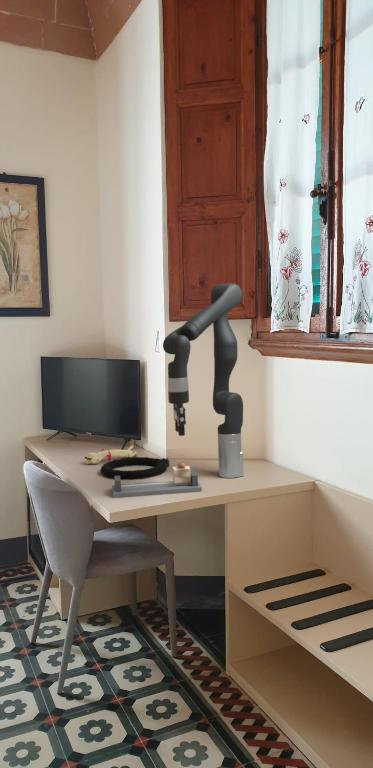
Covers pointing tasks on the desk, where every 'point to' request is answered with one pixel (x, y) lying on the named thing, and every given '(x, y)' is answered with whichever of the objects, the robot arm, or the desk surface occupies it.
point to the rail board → (155, 487)
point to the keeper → (181, 473)
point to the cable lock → (158, 464)
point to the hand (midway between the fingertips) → (180, 433)
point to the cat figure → (110, 454)
